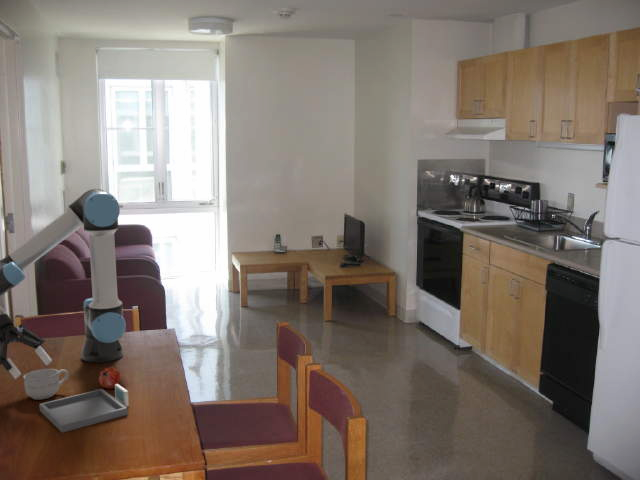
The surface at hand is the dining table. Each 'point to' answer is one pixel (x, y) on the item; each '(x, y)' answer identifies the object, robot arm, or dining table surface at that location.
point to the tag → (121, 395)
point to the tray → (82, 410)
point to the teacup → (43, 382)
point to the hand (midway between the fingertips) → (34, 369)
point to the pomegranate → (109, 377)
